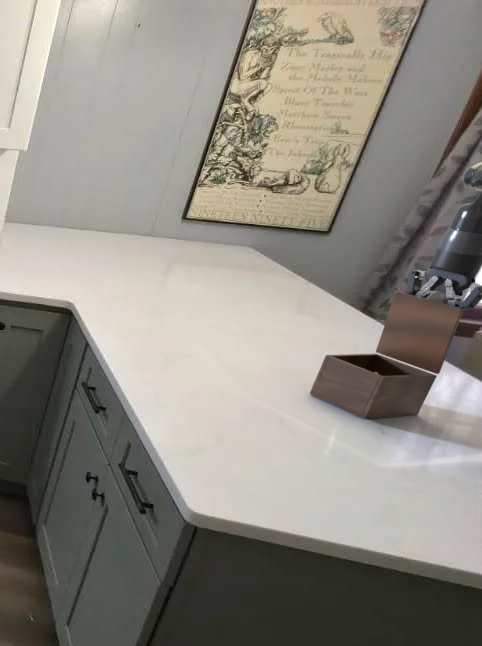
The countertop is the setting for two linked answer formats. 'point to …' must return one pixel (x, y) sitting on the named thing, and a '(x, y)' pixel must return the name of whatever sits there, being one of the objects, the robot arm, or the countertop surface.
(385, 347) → the lid
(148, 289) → the countertop surface
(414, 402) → the chest
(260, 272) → the countertop surface
